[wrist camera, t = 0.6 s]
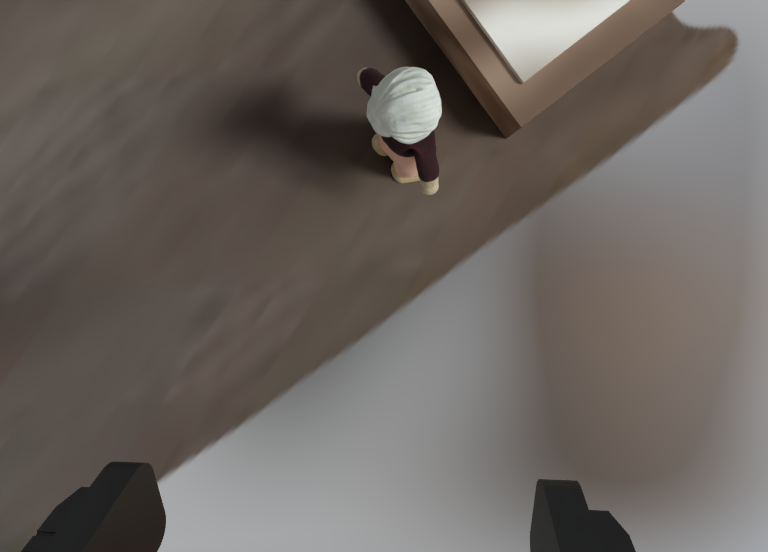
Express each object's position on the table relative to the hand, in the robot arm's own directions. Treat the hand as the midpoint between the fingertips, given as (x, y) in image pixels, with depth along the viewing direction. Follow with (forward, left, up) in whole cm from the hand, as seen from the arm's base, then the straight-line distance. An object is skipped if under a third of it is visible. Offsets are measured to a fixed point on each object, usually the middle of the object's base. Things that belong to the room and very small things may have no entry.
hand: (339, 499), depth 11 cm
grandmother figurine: (-8, +9, -25) cm, 27 cm away
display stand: (-11, +21, -25) cm, 34 cm away
